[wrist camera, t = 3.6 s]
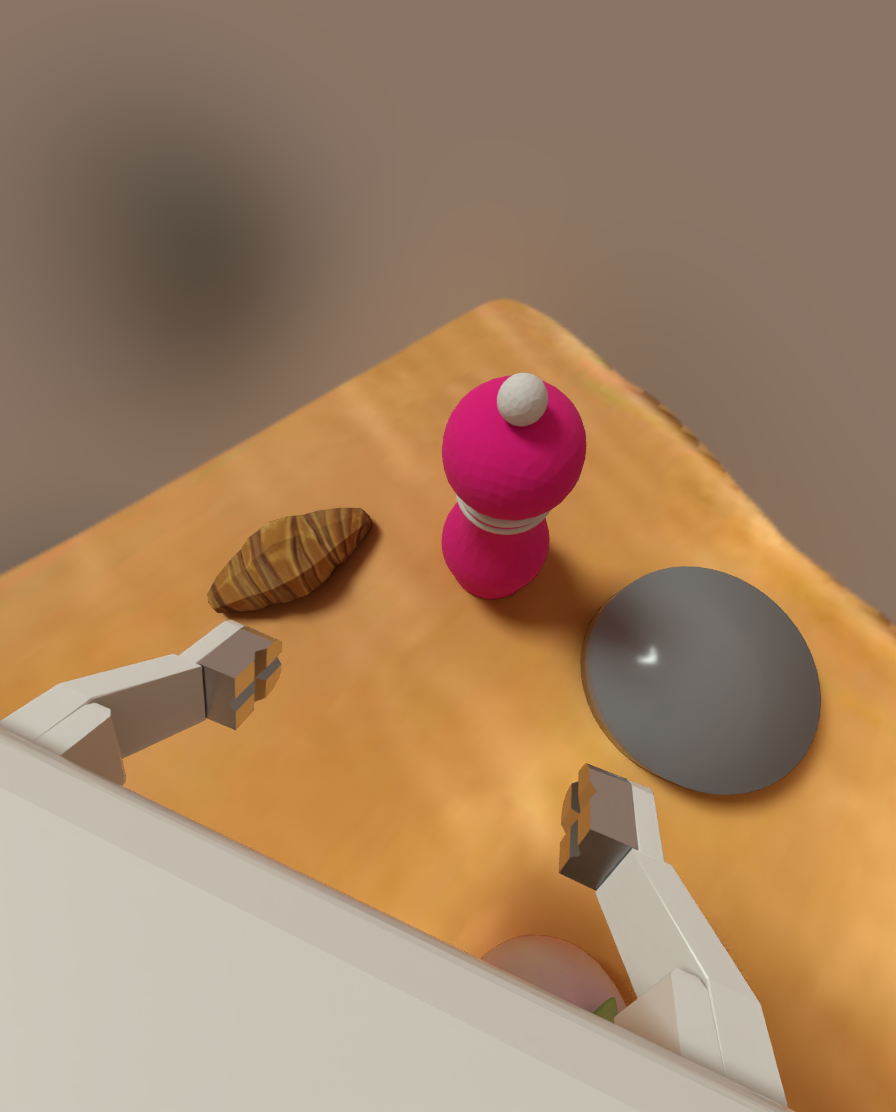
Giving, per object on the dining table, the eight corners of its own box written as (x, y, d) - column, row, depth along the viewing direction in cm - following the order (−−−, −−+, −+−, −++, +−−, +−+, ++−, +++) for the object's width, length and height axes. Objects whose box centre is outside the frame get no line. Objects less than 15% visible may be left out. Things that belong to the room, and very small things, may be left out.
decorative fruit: (490, 866, 27) (504, 959, 18) (615, 936, 26) (703, 1078, 16) (424, 1038, 25) (399, 1254, 15) (559, 1125, 23) (624, 1422, 14)
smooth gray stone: (799, 798, 28) (837, 810, 25) (578, 769, 29) (591, 778, 26) (774, 587, 32) (804, 577, 29) (582, 568, 33) (593, 557, 30)
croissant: (238, 648, 32) (198, 640, 28) (205, 574, 34) (163, 555, 29) (393, 556, 34) (382, 534, 29) (354, 491, 36) (337, 460, 31)
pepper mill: (545, 528, 34) (649, 317, 15) (528, 616, 32) (621, 502, 13) (457, 508, 35) (447, 284, 16) (434, 593, 33) (390, 454, 14)
